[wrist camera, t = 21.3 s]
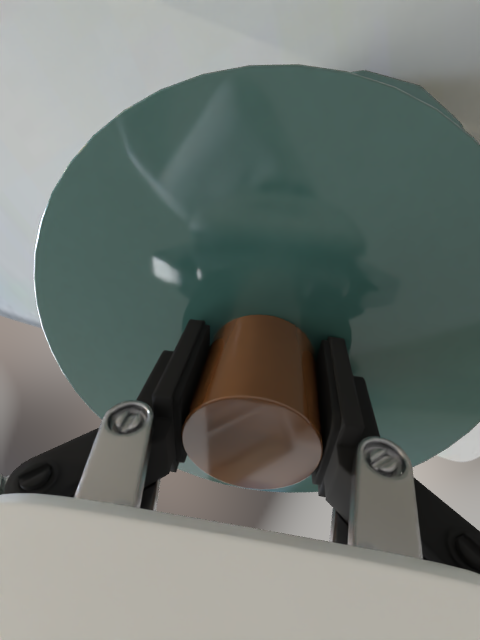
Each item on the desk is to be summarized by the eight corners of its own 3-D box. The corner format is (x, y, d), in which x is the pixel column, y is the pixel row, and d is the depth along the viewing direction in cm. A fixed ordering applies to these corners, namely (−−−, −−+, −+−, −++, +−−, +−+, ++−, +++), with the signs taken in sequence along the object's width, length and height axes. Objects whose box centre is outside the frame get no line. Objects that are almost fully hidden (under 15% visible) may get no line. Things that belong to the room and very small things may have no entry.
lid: (95, 443, 19) (37, 542, 15) (-14, 49, 9) (-280, -6, 5) (411, 494, 18) (450, 620, 13) (664, 93, 8) (1115, 69, 4)
